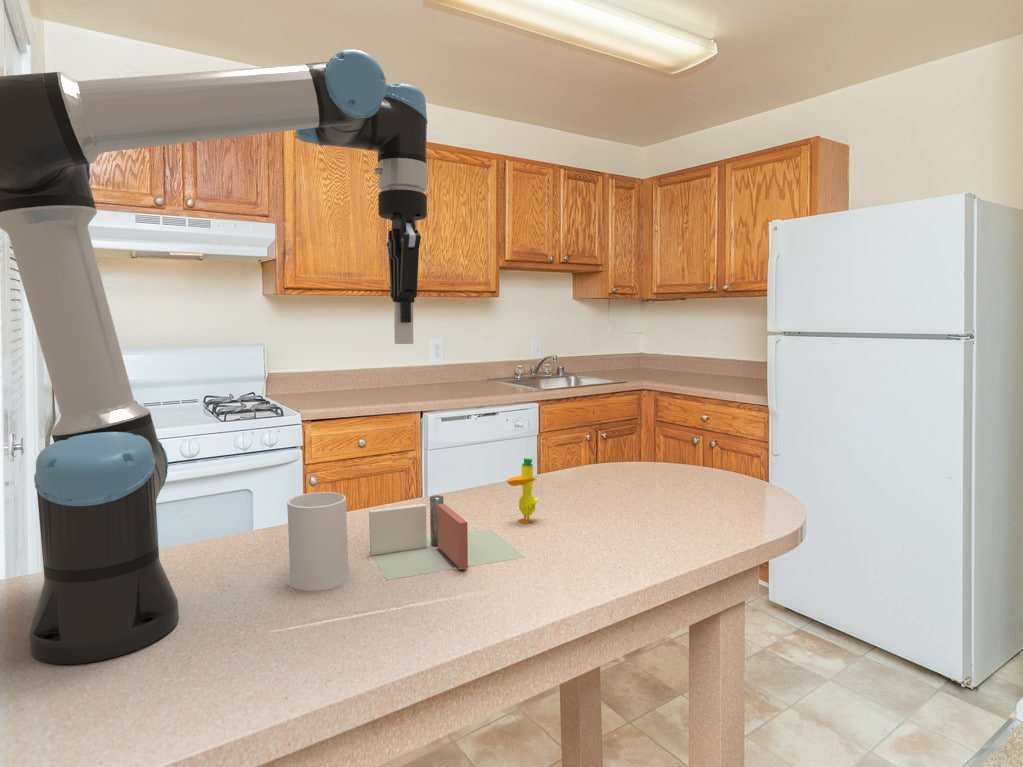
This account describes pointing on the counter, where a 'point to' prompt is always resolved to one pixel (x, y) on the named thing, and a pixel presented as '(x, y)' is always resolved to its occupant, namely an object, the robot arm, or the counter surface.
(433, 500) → the post
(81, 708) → the counter surface
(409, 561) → the card
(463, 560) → the red panel
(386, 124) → the robot arm
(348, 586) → the counter surface
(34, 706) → the counter surface
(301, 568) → the mug
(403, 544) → the fixed panel
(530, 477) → the toy figure
